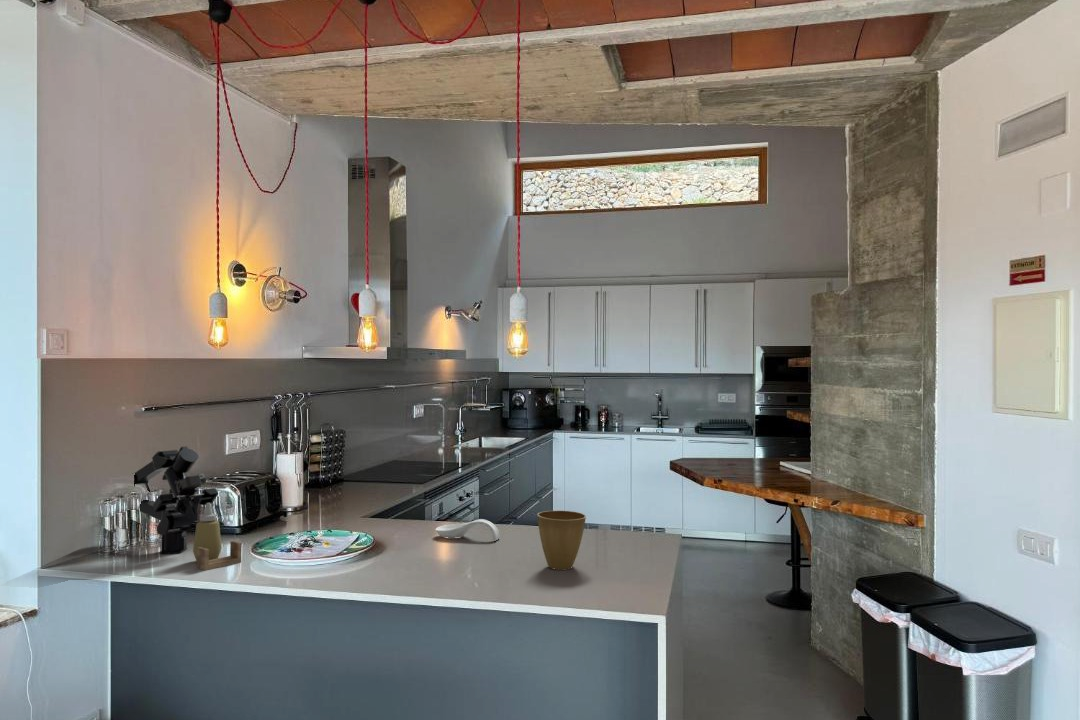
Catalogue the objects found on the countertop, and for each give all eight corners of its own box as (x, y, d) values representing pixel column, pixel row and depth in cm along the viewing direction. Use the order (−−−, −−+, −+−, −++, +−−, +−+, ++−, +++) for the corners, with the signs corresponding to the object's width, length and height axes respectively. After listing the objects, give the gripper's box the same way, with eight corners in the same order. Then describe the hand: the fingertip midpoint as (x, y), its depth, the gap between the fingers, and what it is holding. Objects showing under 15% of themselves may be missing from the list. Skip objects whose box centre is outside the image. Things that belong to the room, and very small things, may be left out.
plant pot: (550, 575, 208) (550, 521, 209) (529, 563, 222) (529, 512, 222) (594, 570, 215) (594, 517, 215) (571, 558, 228) (571, 508, 228)
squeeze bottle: (210, 565, 216) (211, 506, 216) (186, 563, 217) (187, 504, 218) (226, 558, 224) (228, 501, 224) (204, 557, 225) (205, 500, 226)
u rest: (197, 567, 213) (197, 547, 213) (233, 559, 223) (233, 540, 223) (205, 570, 211) (205, 549, 211) (241, 562, 220) (241, 542, 220)
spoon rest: (430, 540, 253) (430, 519, 253) (443, 533, 264) (443, 513, 265) (492, 545, 246) (492, 524, 247) (503, 537, 258) (504, 518, 258)
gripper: (158, 468, 221) (176, 509, 214) (216, 463, 236) (233, 500, 229) (145, 491, 225) (162, 531, 219) (202, 484, 240) (219, 521, 234)
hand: (195, 520), depth 225 cm, fingers closed
